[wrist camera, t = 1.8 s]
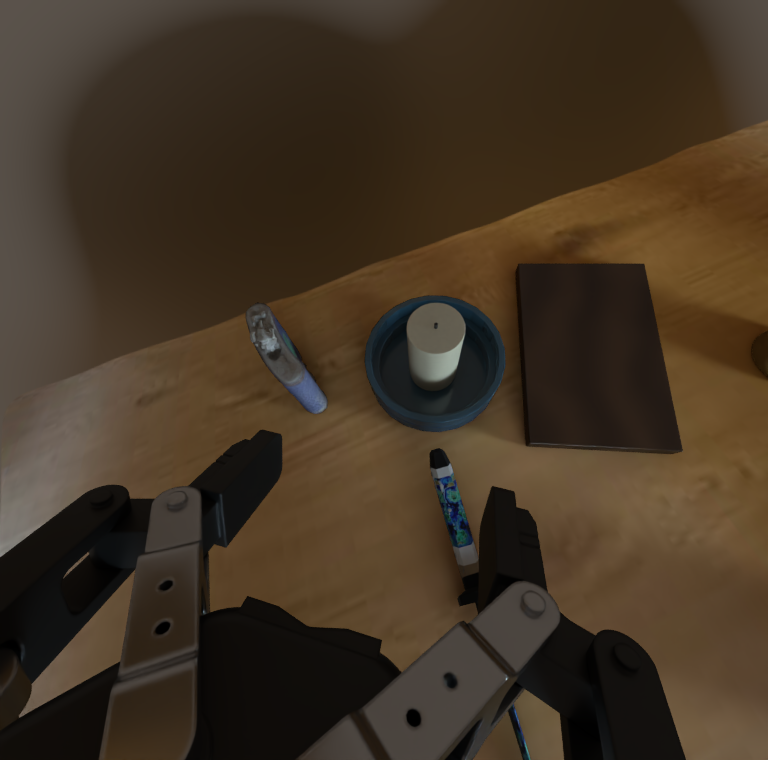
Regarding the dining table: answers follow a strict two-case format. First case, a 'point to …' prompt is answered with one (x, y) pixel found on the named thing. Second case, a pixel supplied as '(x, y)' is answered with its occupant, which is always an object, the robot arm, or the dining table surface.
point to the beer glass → (761, 352)
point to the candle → (434, 345)
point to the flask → (283, 358)
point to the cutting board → (592, 360)
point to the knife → (463, 548)
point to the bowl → (456, 401)
